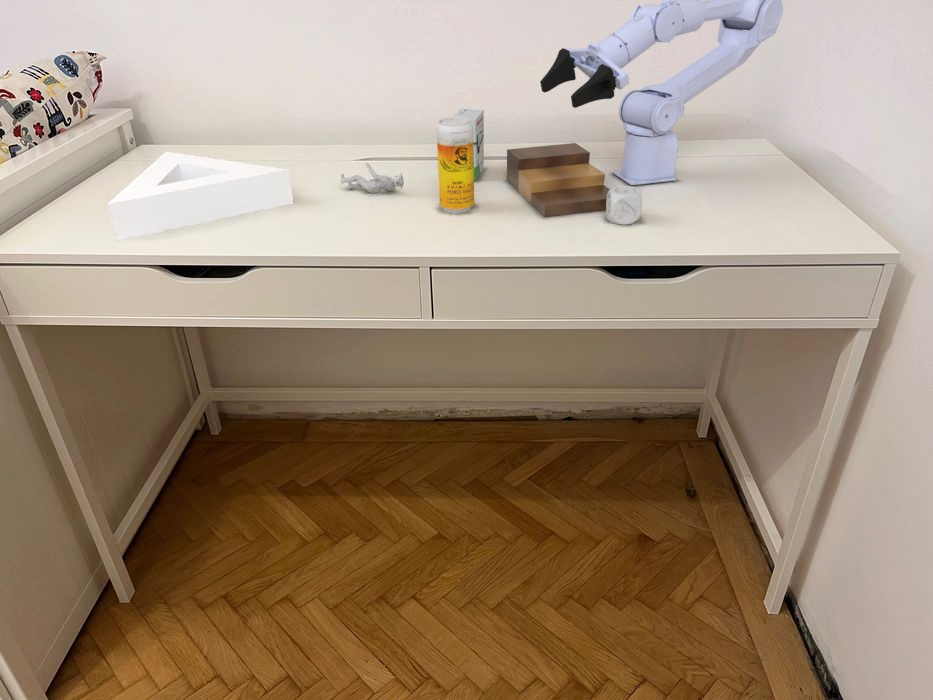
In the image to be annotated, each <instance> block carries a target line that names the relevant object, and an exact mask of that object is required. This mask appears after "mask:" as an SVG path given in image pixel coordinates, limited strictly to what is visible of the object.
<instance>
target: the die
mask: <svg viewBox="0 0 933 700" xmlns="http://www.w3.org/2000/svg"><path fill="white" fill-rule="evenodd" d="M609 189H610V190H609V191H608V194H607V199H606V210H605V213H606V218H607V221H609V222H610V223H612V224H615V225H621V226H622V225H624V226H625V225H626V226H627V225H628V226H629V225H632V224H635V223H636V222H638V221H639V220H641V217H642V213H643V212H642V211H643V193H642V191H641V190H640V189H639V188H638V187H635V186H633V185H617V186H612V187H611V188H609Z"/></svg>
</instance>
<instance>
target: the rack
mask: <svg viewBox="0 0 933 700" xmlns="http://www.w3.org/2000/svg"><path fill="white" fill-rule="evenodd" d="M590 157H591V152H590V151H588V150H587V149H586V148H584V147H582V146H580V145H579V143H576V142H570V143H561V144H559V143H558V144H549V145H540V146H529V147H517V148H508V149H506V182H508V183H509V184H510V185H511V186H512V187H513V188H514V189H515V190H516V191H517V192H518V193H520V195H521V196H522V197H523V198H524V199H525V200H526V201H527V202H529V204H530V205H531V206H533V207H534V209H536V211H537V212H539V214H540V215H542V216H543V217H544V218H548V217H549V218H550V217H557V216H565V215H566V216H567V215H573V214H574V215H575V214H582V213H591V212H599V211H606V199H607V194H608V191H609V190H610V189H611V188H609V187H608V186H607V185H605V180H606V179H605V178H606V177H605V176H606V174H605V173H604V172H603V171H601V170H600V169H599V168H597V167H595V166H594V165H593V164H592V163H590Z"/></svg>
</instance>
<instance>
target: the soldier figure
mask: <svg viewBox="0 0 933 700" xmlns="http://www.w3.org/2000/svg"><path fill="white" fill-rule="evenodd" d="M364 165H365V166H366V167H367V169H368V172H369V173H370V175H371V176H372V178H373V179H369V180H367V179H366V178H365V177H362V176H361V175H359V174H355V175H353V176H349V177H345V174H344V173H341V174H340V184H341V185H343V184H345V183H347V187H346V188H347V190H351V189H358V188H363V189H364V190H365V191H366V192H368V193H370V194H375V193H378V192H380V191H382V190H384V191H385V190H387V191H388V192H392V191H393V190H394V189H395V188H396V187H399V188H400V189H401V190H402V189H403V187H404V185H405V181H404V176H403V173H402V172H401V173H400V174H398V175H397V176H396V175H395V176H393V177H392V176H388V175H380V174H377V173H376V172H375V171H374V169H373V168H372V166H371V165H370V164H369V162H364ZM355 182H356V183H355Z"/></svg>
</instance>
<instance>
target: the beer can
mask: <svg viewBox="0 0 933 700" xmlns="http://www.w3.org/2000/svg"><path fill="white" fill-rule="evenodd" d="M436 147H437V169H438V170H437V171H438V194H439V195H438V197H439V205H440V207H441V208H442V210H443V211H445V212H448V213H453V214H459V213H461V214H462V213H465V212H468V211H470V210H471V209H472V207H473V206H474V205H475V180H474V148H473V126H472V124H471V120H470V119H468V118H463V117H453V116H451V117H443V118H441V119H439V120H438V124H437V125H436Z"/></svg>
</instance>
